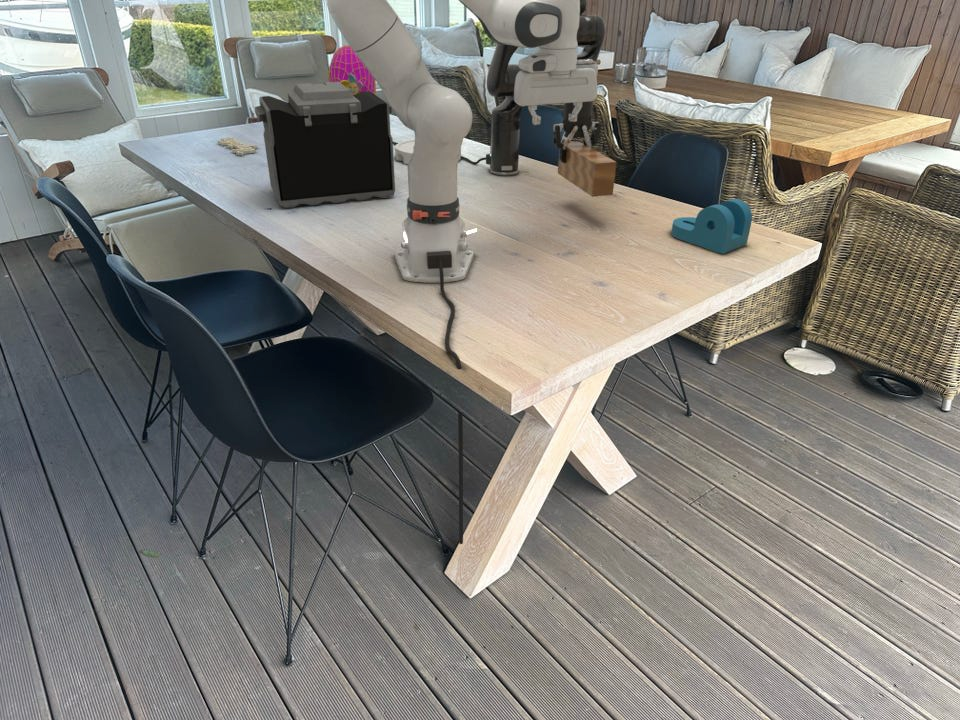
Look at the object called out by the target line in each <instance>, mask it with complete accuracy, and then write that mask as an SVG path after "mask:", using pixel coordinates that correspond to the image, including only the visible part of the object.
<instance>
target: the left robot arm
mask: <svg viewBox="0 0 960 720" xmlns="http://www.w3.org/2000/svg"><path fill="white" fill-rule="evenodd" d="M458 1H459V2H460V3H461V4H462V5H463V6H464V7H465V8H466V9H467V10H469V12H471V13H472V14H473V16H475V17H476V18H477V20H478V21H479V22H480V23H479V24H480V25H481V27H482V28H483V31H484V32H485V35H486V36H487V37H488V39H489V40H490V41H491V42H493V43H495V44H496V45H497V44H499V45H512V46H517V47H518V48H523V49H524V48H525V49H535V48H538V51H536V52H535V53H531V54H530V55H527V56H525V57H521V58H520V59H519V60H518V64H517V65H519V68H520V69H521V71H519V72H518V74H517V76H516V80H515V87H514V101H515V102H516V103H517V104H518V105H520V106H522V107H527V109H528V111H529V113H530V115H531V116H532V117H531V119H532V122H531V123H532V125H533V126H537V125H541V123H542V117H541V116H540V115H538V114H537V112H536V111H537V110H538V106H544V105H557V104H558V105H559V104H565V103H573V105H574V106H575V107H574V109H573V111H572V113H569V118H568V120H569V121H570V122H576V121H577V114H578V113H579V111H580V110H581V108H582V102H587V101H593V102H594V101H595V100H596V99H597V97H598V77H597V76H598V73H599V64H598V63H597V62H595V61H593V60H592V59H587V60H577V55H578V49H579V48H578V47H579V46H578V43H577V31H578V28H579V19H580V0H458ZM326 6H327V10H328V12H329V14H330V15H331V18H332V19H333V22H334V23H335V25H336V27H337V29H338V30H339V32H340V34H341V35H342V37H343V38H344V40H345V42H346V43H347V44H348V45H349V46H350V47H351V48H352V50H353V51H354V52H355V54H356V55H357V56H358V58H359V59H360V60H361V62H362V63H363V64H364V66H365V67H366V68H367V70H368V71H369V72H370V74H371V75H372V76H373V77H374V79H375V81H376V84H377V85H378V86H379V88H380V89H381V91H382V94H383V95H384V97H385V99H386V100H387V103H388V104H389V105H390V106H391V107H392V111H393V112H394V113H395V115H396V117H397V118H398V120H399V121H400V122H401V123H402V125H403V126H404V127H406V128H407V129H409V130H410V131H413V132H414V139H415V144H414V150H413V155H412V158H411V160H410V161H409V163H408V164H407V184H408V186H407V187H408V198H407V199H406V211H407V213H406V214H407V217H406V218H405V219H404V220H403V221H402V223H401V231H402V242H401V244H400V247H401V249H400V250H397V251H395V252H394V259H395V262H396V264H397V267H398V269H399V272H400V274H401V277H402V279H403V280H405V281H408V282H414V283H431V284H433V283H435V284H437V283H439V289H440V294H441V297H442V298H443V300H444V301H445V303H447V304H448V305H449V308H450V315H449V318H448V321H447V325H446V331H445V336H444V346H445V350H446V352H447V353H448V354H449V355H450V356H451V357H453V359H454V361H455V365H456V369H457V370H462V368H463V367H462V362H461V360H460V357H459V355H458V354H457V353H456V352H455V351H454V350H452V348H451V345H450V338H451V337H450V336H451V331H452V324H453V321H454V318H455V315H456V314H455V313H456V307H455V305H454V303H453V302H452V301H451V300H450V298H448V296H447V295H446V292H445V283H451V282H457V281H461V280H464V279H466V277H467V274H468V273H469V269H470V267H471V265H472V262H473V260H474V257H475V251H473V250H471V249H468V245H469V243H468V242H467V241H466V238H467V236H468V235H470V234H473V233H476V232H478V229H477V228H474V229H470V230H467V231H466V221H465V220H464V219H463V218H461V216H460V208H461V207H460V206H461V205H460V198H459V197H458V164H459V161H458V158H459V153H460V149H461V150H462V145H463V141H464V139H465V138H466V136H468V134H469V132H470V131H471V128H472V124H473V111H472V108H471V106H470V104H469V103H468V101H466V99H465V98H464V97H463V96H462V94H460V93H459V92H458V91H456V90H454V89H452V88H450V87H446V86H444V85H441V84H440V83H439V82H437V80H435V78H434V77H433V76H432V74H431V73H430V72H429V70H428V67H427V65H426V63H425V61H424V59H423V55H422V51H421V48H420V46H419V45H418V42H416V40H415V39H414V37H413V36H412V34H411V32H410V31H409V30H408V29H407V27H406V26H405V23H403V21H402V19H401V18H400V17H399V15H398V13H397V12H396V11H395V10H394V8H393V7H392V5H391V4H390V3H389V1H388V0H326ZM593 63H594V64H593ZM463 416H464V415H463V411H457V425H458V426H457V427H458V429H457V430H458V431H457V432H458V544H459V545H464V421H463V420H464V419H463Z"/></svg>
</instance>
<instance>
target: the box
mask: <svg viewBox="0 0 960 720" xmlns="http://www.w3.org/2000/svg"><path fill="white" fill-rule="evenodd" d="M558 149H559V151H558V156H559V155H560V148H558ZM566 150H567V157H566V163H562V162H561V160H560V159H559V158H558V164H557V175H559V176H560V177H562V178H564V179H565V180H567V181H568V182H569V183H571V184H573V185H574V186H576V187H577V188H579V189H580V190H581V191H583V192H584V193H586V194H587V195H589V196H591V197H595V198H596V197H603V196H604V197H605V196H606V197H607V196H613V195H614V187H615V180H616V170H617V161H616V160H614V159H612V158H610V157H608V156H607V155H605V154H603V153H601V152H599V151H598V150H595V149H594V148H592V147H591V148H590V147H588V146H586V145H584V144H583V142H581V141H571V142H570V143H569V144H568V146H567V148H566Z"/></svg>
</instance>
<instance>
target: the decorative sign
mask: <svg viewBox="0 0 960 720" xmlns="http://www.w3.org/2000/svg"><path fill="white" fill-rule="evenodd" d="M217 144H218V145H220V146H226V147H227V149H231V152H232V153H233V154H236V156H244V155H247V154H254V153H256V149H258V148H259V147H258V144H246V143H244V142H241V141H239V140H237V139H236V138H234V137H232V136H230V137H229V136H228V137H225V138H224V137H221V138H220V140H217Z"/></svg>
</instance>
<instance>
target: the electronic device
mask: <svg viewBox="0 0 960 720" xmlns="http://www.w3.org/2000/svg"><path fill="white" fill-rule="evenodd" d="M287 99H288V102H287V101H284V100H282V99H279V98H276V97H273V96H271V95H263V96H259V97H258V100H259V105H258V106H254V113H255V116H256V118H257V119H258V121H259V122H261V123H262V125H263V129H264V131H263V134H262V135H263V140H264V142H263V143H264V148H265V155H266V162H267V168H268V175H269V181H270V186H271V189H272V191H273V193H274V196H275V197H276V200H277V203H278V205H279V207H281V208H285V209H289V208H290V209H291V208H296V207H298V206H299V205H308V206H319V205H320V204H322V203H328V202H329V203H332V204H339V203H345V202H346V201H348V200H356V201H360V202H361V201H367V200H369V199H370V198H375V197H376V198H378V199H387V198H391V197H392V196H394V195H395V193H396V192H395V191H396V180H395V162H394V144H393V142H394V140H393V136H392V134H391V121H390V120H391V115H390V114H392V113H393V108H392V107H391V105H390V104H389V102H386V101H385V100H383V98H380V97H379V96H377V94H376V95H375V94H373V93H372V92H370V91H362V92H360V93H358V94H356V95H354V96H353V95H352V94H351V92H350V90H349V89H347V88H346V87H345V86H343V85H342V84H341V83H340V82H329V81H324V83H311V82H304V83H295V84H294V87H293V90H290V91H289V92H287Z"/></svg>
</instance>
